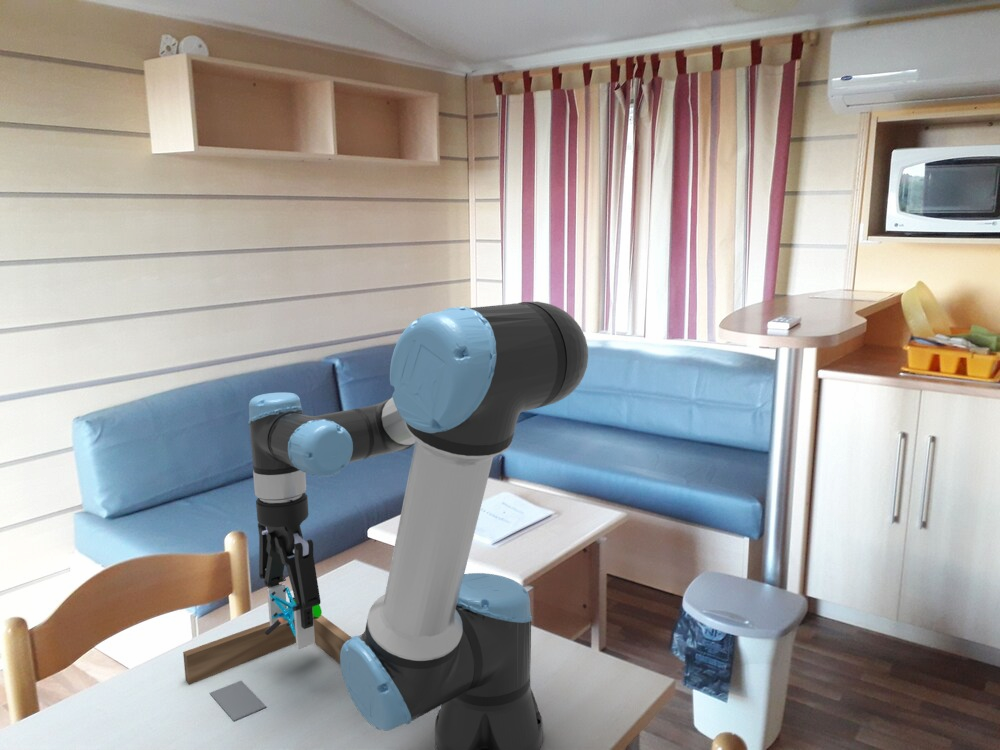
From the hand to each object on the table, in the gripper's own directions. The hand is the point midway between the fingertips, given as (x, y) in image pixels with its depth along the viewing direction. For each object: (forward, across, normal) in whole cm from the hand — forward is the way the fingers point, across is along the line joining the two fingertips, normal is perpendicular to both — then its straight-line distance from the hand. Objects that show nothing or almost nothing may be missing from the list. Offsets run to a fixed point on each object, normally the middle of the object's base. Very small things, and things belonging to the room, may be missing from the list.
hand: (292, 634), depth 122 cm
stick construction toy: (+1, -1, -1) cm, 2 cm away
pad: (+8, +1, +9) cm, 12 cm away
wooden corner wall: (+8, +4, -8) cm, 12 cm away
